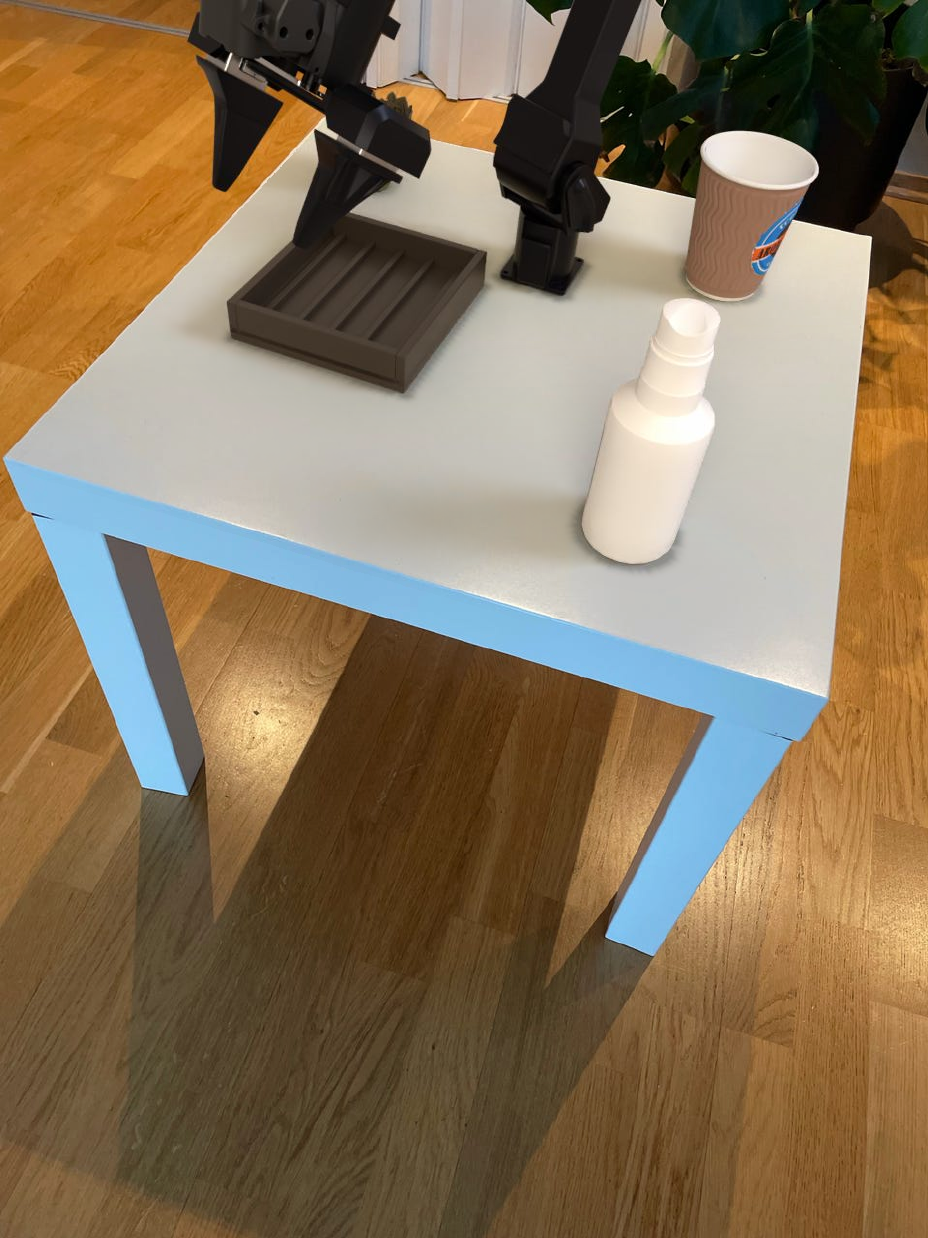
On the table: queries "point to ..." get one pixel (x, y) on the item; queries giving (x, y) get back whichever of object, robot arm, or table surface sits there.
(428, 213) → the table surface
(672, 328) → the spray bottle
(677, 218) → the table surface
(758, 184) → the coffee cup
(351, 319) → the ribbed square tray
